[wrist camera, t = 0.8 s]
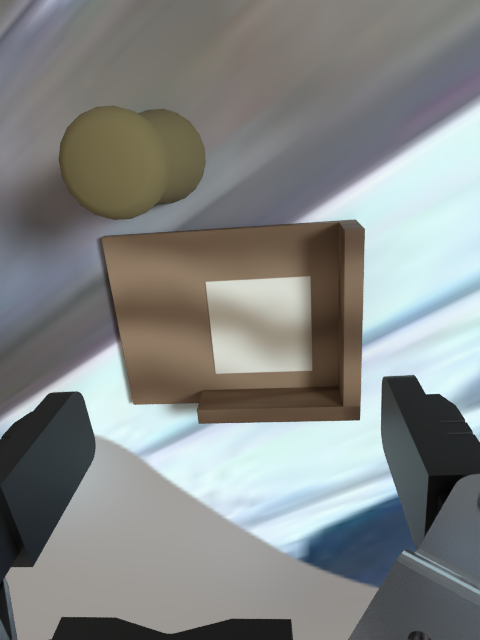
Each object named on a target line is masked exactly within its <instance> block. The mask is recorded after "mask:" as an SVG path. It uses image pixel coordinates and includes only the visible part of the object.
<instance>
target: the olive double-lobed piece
mask: <svg viewBox="0 0 480 640" xmlns="http://www.w3.org/2000/svg"><path fill="white" fill-rule="evenodd" d="M59 164H60V169H61V174H62V178H63V180H64V182H65V184H66V186H67V188H68V190H69V192H70V193H71V195H72V196H73V197H74V198H75V199H76V200H77V201H78V202H79V204H80V205H81V206H83V207H84V208H86V209H87V210H89V211H91V212H92V213H94V214H95V215H99V216H103V217H106V218H110V219H114V220H117V219H131V218H134V217H136V216H139V215H141V214H144V213H146V212H147V211H148V210H149V209H151V208H152V207H153V206H154V205H155V204H156V203H174V202H176V201H179V200H181V199H184V198H186V197H187V196H188V195H189V194H190V193H191V192H193V191H194V190H195V189H196V187H197V185H198V184H199V182H200V180H201V179H202V176H203V172H204V167H205V150H204V146H203V143H202V141H201V138H200V135H199V133H198V132H197V131H196V129H195V128H194V127H193V126H192V124H191V123H190V122H189V121H188V120H186V119H185V118H184V117H182V116H181V115H179V114H178V113H175V112H172V111H168V110H165V109H156V110H147V111H144V112H141V113H138V114H137V113H136V112H134V111H131V110H127V109H124V108H120V107H117V106H103V107H96V108H93V109H91V110H89V111H87V112H85V113H83V114H81V115H79V116H78V117H77V118H76V119H75V120H74V121H73V122H72V123H71V124H70V125H69V126H68V127H67V129H66V132H65V134H64V136H63V138H62V141H61V143H60V153H59Z"/></svg>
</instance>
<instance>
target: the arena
mask: <svg viewBox="0 0 480 640" xmlns="http://www.w3.org/2000/svg"><path fill="white" fill-rule="evenodd" d="M101 239H102V244H103V249H104V254H105V259H106V264H107V270H108V275H109V280H110V285H111V290H112V295H113V301H114V306H115V311H116V316H117V321H118V326H119V332H120V337H121V342H122V347H123V352H124V357H125V363H126V368H127V373H128V378H129V383H130V388H131V394H132V399H133V404H134V405H139V404H178V403H199V405H198V409H197V413H198V421H199V424H205V423H253V422H301V421H349V420H360V401H361V361H362V320H363V280H364V240H365V229H364V228H363V227H362V226H361V225H360V224H359V223H358V222H357V221H356V220H342V221H327V222H312V223H296V224H281V225H266V226H250V227H235V228H220V229H204V230H189V231H173V232H158V233H143V234H127V235H112V236H103V237H102V238H101Z"/></svg>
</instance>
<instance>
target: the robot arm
mask: <svg viewBox="0 0 480 640" xmlns="http://www.w3.org/2000/svg"><path fill="white" fill-rule="evenodd" d="M381 436H382V444H383V449H384V453H385V456H386V459H387V462H388V465H389V468H390V471H391V474H392V477H393V481H394V484H395V487H396V490H397V493H398V496H399V499H400V502H401V505H402V508H403V511H404V514H405V517H406V520H407V523H408V526H409V529H410V532H411V535H412V538H413V541H414V544H415V547H416V550H417V551H416V552H415V553H414V552H412V551H410V550H405V551H403V552H402V553H401V555H400V556H399V557H398V559H397V560H396V562H395V563H394V565H393V567H392V568H391V570H390V572H389V573H388V575H387V577H386V578H385V580H384V582H383V583H382V585H381V586H380V588H379V590H378V592H377V593H376V595H375V596H374V598H373V600H372V601H371V603H370V605H369V606H368V608H367V610H366V611H365V613H364V614H363V616H362V618H361V619H360V621H359V623H358V624H357V626H356V628H355V629H354V631H353V633H352V634H351V636H350V638H349V639H348V640H480V442H479V441H478V439H477V438H476V436H475V435H473V431H472V430H471V428H470V427H469V425H468V424H467V423H465V419H464V418H463V416H462V414H461V413H460V411H459V410H458V408H457V407H456V405H454V404H453V403H451V402H450V401H448V400H447V399H446V398H444V397H443V396H441V395H440V394H427V395H426V394H425V392H424V390H423V389H422V387H421V385H420V383H419V382H418V380H417V378H416V377H415V376H414V375H407V376H387V377H383V380H382V402H381ZM94 454H95V437H94V433H93V430H92V426H91V423H90V419H89V416H88V412H87V408H86V405H85V401H84V398H83V396H82V394H81V393H80V392H77V391H76V392H56V393H50V394H48V395H47V396H46V397H45V398H44V399H43V401H42V402H41V403H40V404H39V405H38V406H37V407H36V409H35V410H34V411H33V412H30V413H28V414H27V415H26V416H24V417H23V418H21V419H20V420H18V421H17V422H15V423H14V424H13V425H12V426H11V427H10V428H9V429H8V430H7V431H6V432H5V434H4V435H3V436H2V439H0V640H17V633H16V628H15V621H14V615H13V609H12V603H11V597H10V591H9V586H8V583H7V581H6V578H5V576H6V574H7V573H8V571H9V569H10V567H33V566H34V564H35V562H36V561H37V559H38V557H39V555H40V553H41V552H42V550H43V548H44V546H45V544H46V543H47V541H48V539H49V537H50V536H51V534H52V532H53V530H54V528H55V527H56V525H57V523H58V521H59V520H60V518H61V516H62V514H63V513H64V511H65V509H66V507H67V506H68V504H69V502H70V500H71V498H72V497H73V495H74V493H75V491H76V490H77V488H78V486H79V484H80V482H81V481H82V479H83V477H84V475H85V473H86V472H87V470H88V468H89V466H90V465H91V463H92V461H93V458H94ZM50 640H293V635H292V624H291V619H229V620H226V621H222V622H218V623H214V624H210V625H206V626H202V627H198V628H194V629H190V630H186V631H183V632H179V633H174V634H166V633H162V632H159V631H156V630H152V629H149V628H146V627H143V626H140V625H137V624H134V623H131V622H127V621H124V620H121V619H118V618H97V617H62V618H61V620H60V622H59V624H58V627H57V629H56V631H55V633H54V636H53V638H52V639H50Z"/></svg>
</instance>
